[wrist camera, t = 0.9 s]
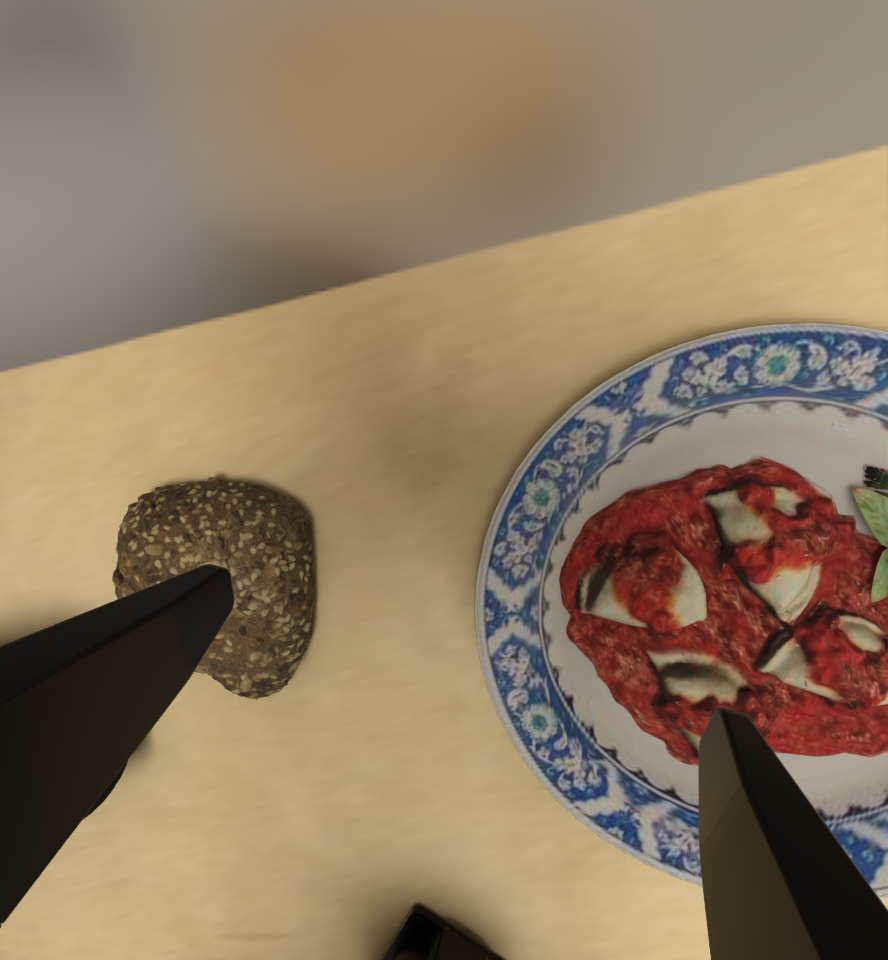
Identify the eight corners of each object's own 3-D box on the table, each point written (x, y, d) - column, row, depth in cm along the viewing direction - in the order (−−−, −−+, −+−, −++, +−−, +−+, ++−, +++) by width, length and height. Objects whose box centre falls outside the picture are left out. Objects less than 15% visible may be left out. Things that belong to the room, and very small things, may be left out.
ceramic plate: (600, 911, 28) (604, 968, 25) (402, 470, 28) (384, 476, 25) (1191, 789, 22) (1288, 846, 19) (952, 220, 21) (1014, 189, 19)
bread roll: (338, 500, 29) (293, 516, 24) (306, 705, 31) (258, 760, 26) (137, 452, 31) (59, 459, 26) (119, 646, 33) (43, 685, 28)
